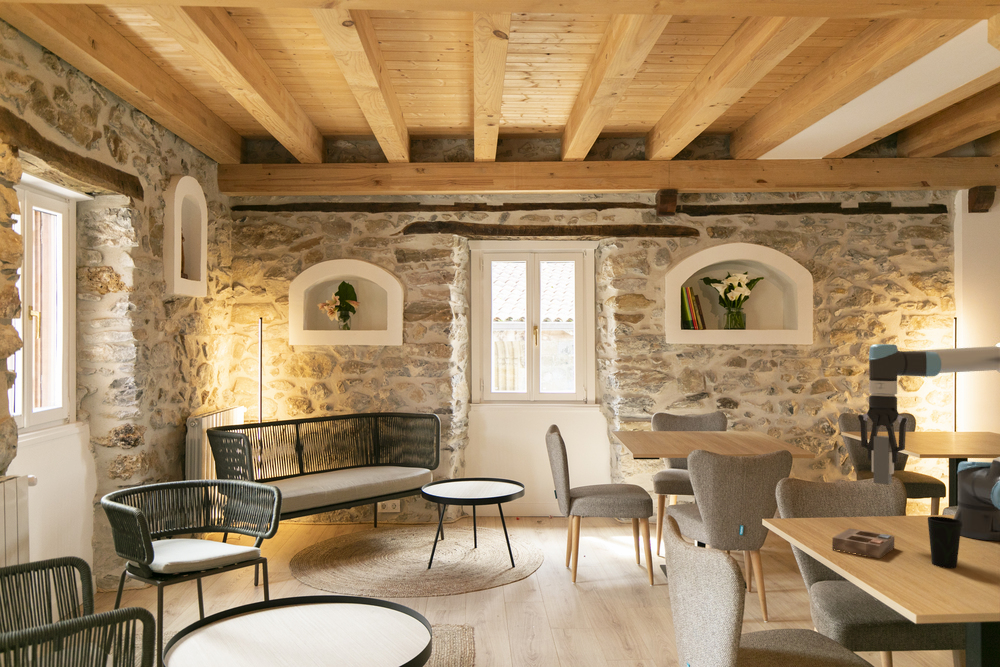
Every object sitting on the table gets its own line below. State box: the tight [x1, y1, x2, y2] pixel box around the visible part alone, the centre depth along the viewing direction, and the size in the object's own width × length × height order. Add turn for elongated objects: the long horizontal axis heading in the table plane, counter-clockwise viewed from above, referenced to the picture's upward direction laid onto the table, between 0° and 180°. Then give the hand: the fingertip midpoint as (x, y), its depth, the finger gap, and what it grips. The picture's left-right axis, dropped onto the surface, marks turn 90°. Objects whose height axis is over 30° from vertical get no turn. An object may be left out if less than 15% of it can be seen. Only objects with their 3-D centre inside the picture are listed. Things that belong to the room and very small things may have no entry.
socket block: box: [831, 527, 895, 559], centre depth 201 cm, size 12×16×4 cm
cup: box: [927, 516, 962, 569], centre depth 187 cm, size 8×8×12 cm
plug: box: [873, 434, 893, 486], centre depth 212 cm, size 4×4×14 cm
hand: (882, 472), depth 212 cm, fingers closed on plug, 4 cm apart
